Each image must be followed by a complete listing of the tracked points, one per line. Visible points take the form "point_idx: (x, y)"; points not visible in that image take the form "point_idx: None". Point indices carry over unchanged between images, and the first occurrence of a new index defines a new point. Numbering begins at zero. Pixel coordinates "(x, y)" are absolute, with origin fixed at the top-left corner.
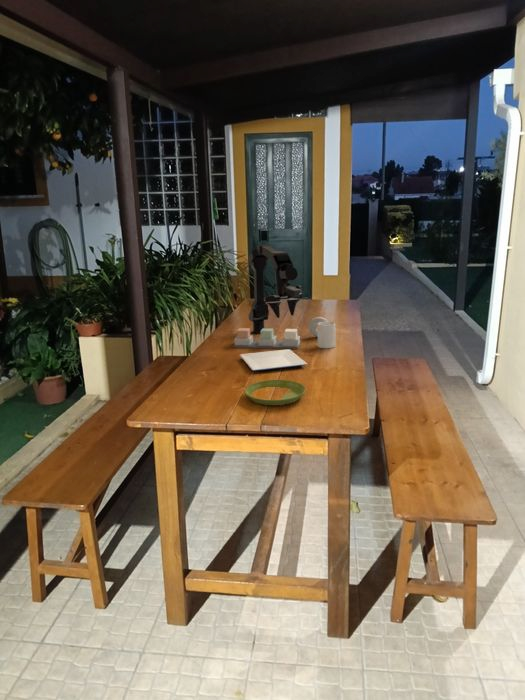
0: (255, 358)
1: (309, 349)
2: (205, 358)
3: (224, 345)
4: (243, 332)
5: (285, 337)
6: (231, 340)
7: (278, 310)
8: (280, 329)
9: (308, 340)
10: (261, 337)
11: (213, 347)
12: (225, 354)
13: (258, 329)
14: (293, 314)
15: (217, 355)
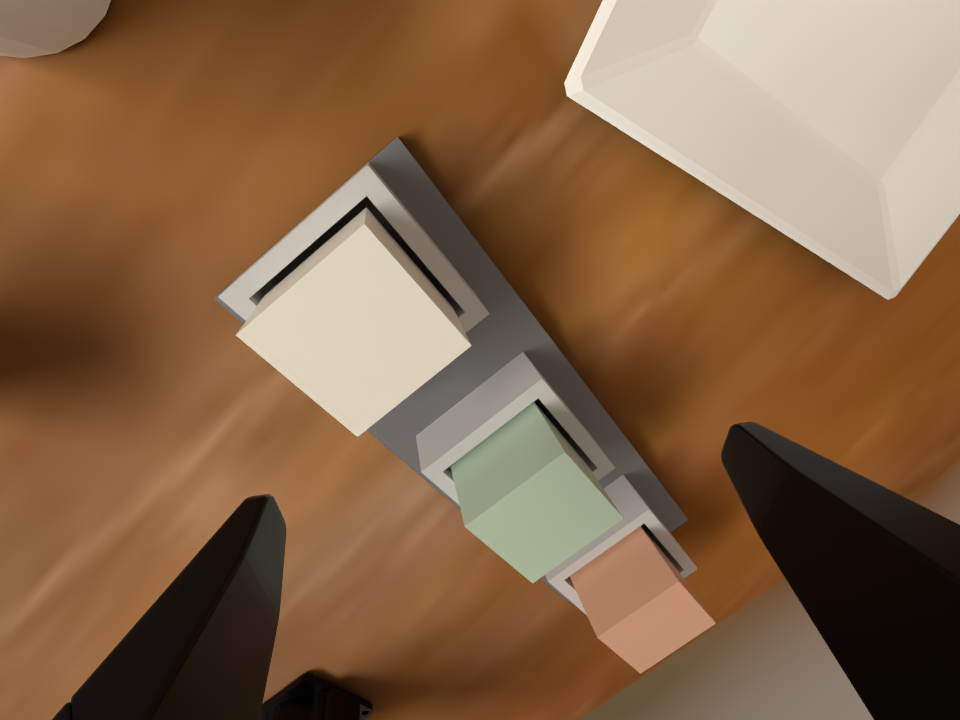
0: (863, 176)
1: (293, 5)
2: (924, 429)
3: None
4: (684, 584)
5: (452, 312)
6: (571, 633)
7: (952, 536)
8: None
9: (67, 314)
10: (591, 471)
11: (735, 571)
12: (821, 425)
13: (339, 714)
14: (242, 506)
15: (854, 436)
